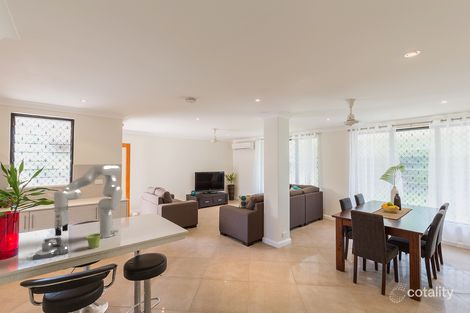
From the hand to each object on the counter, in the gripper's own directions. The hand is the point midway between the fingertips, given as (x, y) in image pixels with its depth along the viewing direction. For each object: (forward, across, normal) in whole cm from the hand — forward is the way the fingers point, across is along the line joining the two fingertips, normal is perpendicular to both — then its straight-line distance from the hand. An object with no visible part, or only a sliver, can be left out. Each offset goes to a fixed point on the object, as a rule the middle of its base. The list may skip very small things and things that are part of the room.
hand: (61, 233), depth 149 cm
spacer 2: (+14, 0, -1) cm, 14 cm away
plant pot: (+15, +5, -18) cm, 23 cm away
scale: (+14, +4, +9) cm, 17 cm away
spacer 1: (+11, +1, +9) cm, 14 cm away
